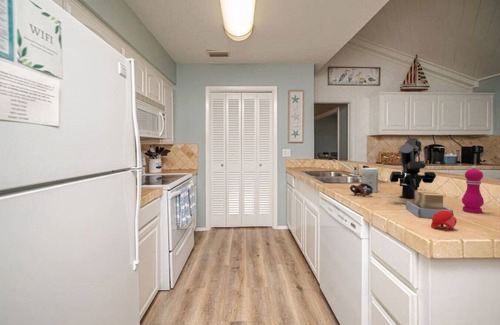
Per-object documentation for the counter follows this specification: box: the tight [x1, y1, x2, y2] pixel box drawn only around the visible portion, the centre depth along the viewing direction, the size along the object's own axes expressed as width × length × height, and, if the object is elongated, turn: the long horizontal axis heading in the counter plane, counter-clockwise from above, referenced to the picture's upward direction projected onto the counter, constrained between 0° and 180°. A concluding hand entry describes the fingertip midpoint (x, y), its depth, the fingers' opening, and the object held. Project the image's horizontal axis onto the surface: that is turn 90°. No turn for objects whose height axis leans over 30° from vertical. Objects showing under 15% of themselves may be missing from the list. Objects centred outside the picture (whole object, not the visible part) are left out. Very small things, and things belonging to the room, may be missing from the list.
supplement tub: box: [361, 167, 379, 193], centre depth 163 cm, size 10×10×15 cm
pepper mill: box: [461, 165, 485, 214], centre depth 111 cm, size 7×7×20 cm
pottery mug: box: [349, 182, 373, 198], centre depth 149 cm, size 12×10×8 cm
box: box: [405, 200, 454, 219], centre depth 108 cm, size 16×12×4 cm
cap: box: [430, 210, 457, 231], centre depth 89 cm, size 8×6×6 cm
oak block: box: [413, 189, 444, 210], centre depth 108 cm, size 12×6×9 cm, turn 165°
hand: (416, 191), depth 121 cm, fingers closed
